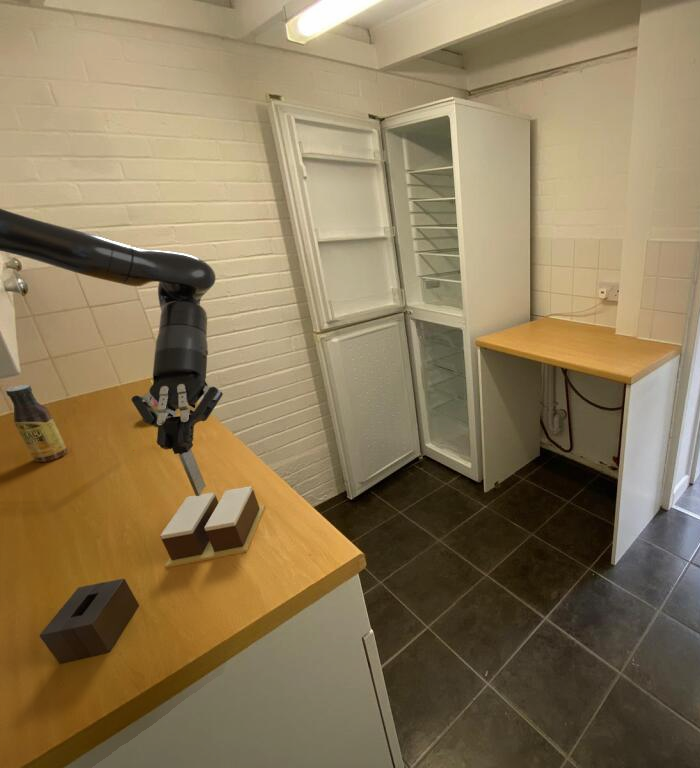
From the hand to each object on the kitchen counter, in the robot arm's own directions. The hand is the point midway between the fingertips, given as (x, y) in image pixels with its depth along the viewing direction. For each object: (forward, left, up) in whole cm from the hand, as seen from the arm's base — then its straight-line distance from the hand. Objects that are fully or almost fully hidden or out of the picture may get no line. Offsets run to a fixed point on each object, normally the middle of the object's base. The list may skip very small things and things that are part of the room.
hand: (175, 446), depth 70 cm
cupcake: (-25, +71, -22) cm, 78 cm away
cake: (0, +2, -22) cm, 22 cm away
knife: (0, +2, -11) cm, 11 cm away
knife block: (-13, -14, -22) cm, 28 cm away
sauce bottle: (-45, +56, -22) cm, 75 cm away
